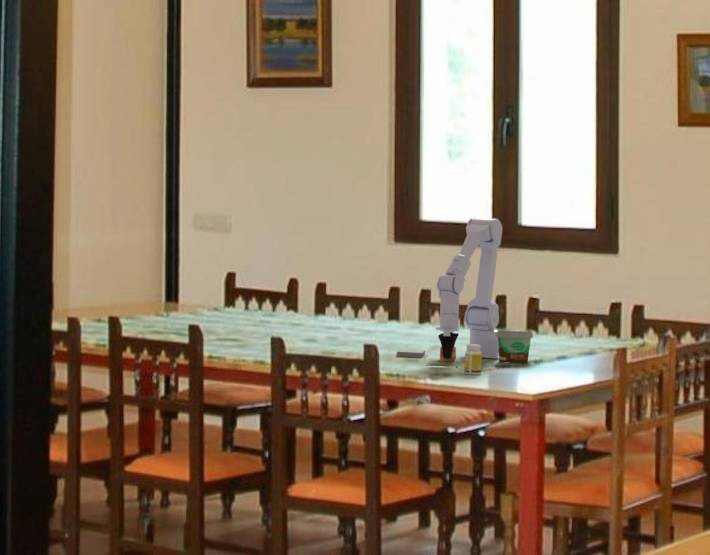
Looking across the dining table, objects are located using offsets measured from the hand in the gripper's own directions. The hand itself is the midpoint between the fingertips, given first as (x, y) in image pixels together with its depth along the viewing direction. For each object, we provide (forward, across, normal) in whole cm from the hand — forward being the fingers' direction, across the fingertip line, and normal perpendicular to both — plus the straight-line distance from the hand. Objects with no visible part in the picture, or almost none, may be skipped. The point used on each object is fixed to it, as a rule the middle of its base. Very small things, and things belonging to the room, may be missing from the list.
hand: (447, 357), depth 426 cm
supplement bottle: (+2, +24, +9) cm, 26 cm away
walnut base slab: (+2, -6, -12) cm, 14 cm away
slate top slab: (+1, -6, -12) cm, 14 cm away
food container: (+2, -7, +21) cm, 22 cm away
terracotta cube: (+1, 0, 0) cm, 1 cm away
